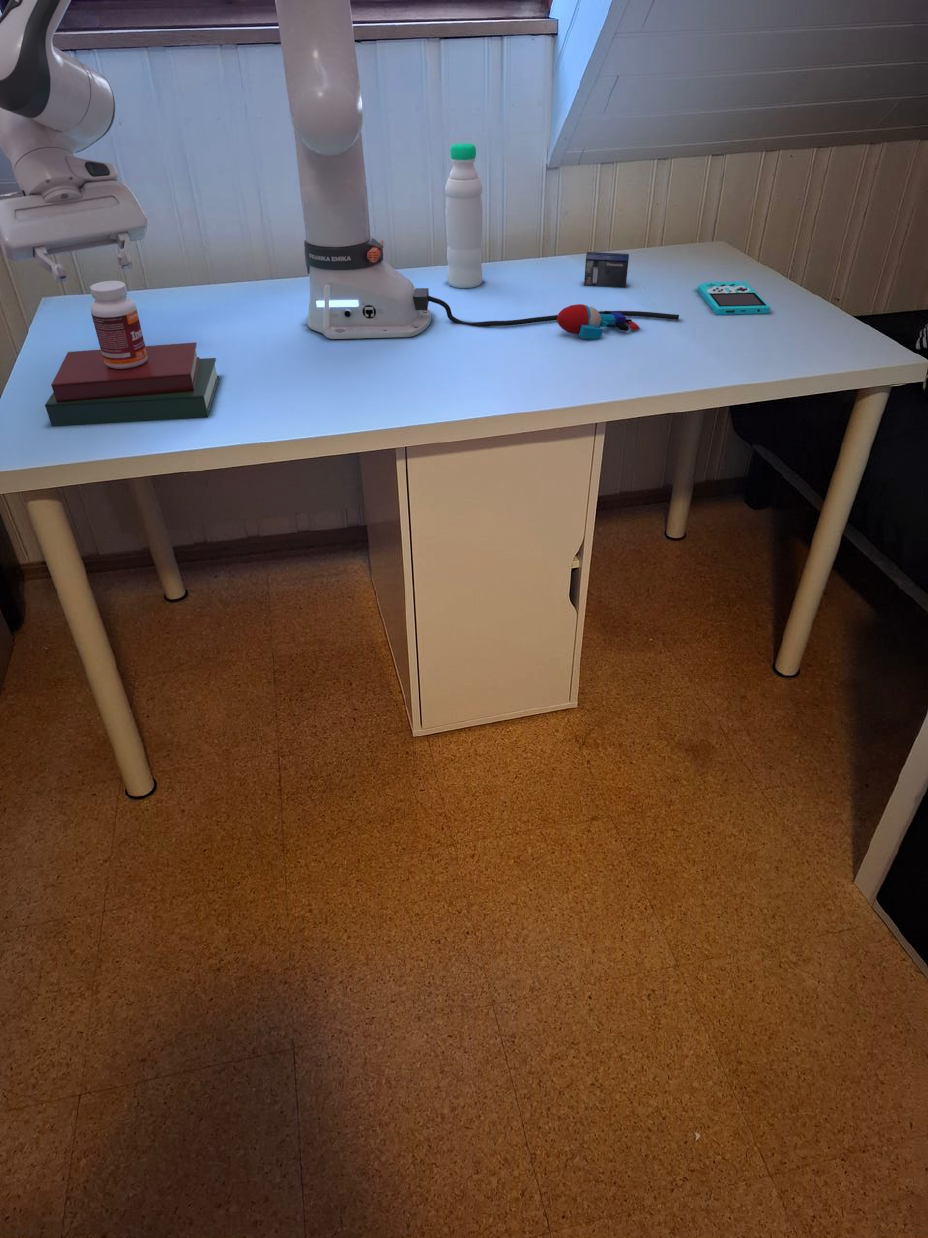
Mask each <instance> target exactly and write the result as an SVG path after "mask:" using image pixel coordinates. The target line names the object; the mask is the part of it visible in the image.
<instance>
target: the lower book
mask: <svg viewBox="0 0 928 1238" xmlns="http://www.w3.org/2000/svg"><path fill="white" fill-rule="evenodd" d="M216 362H217V357H210V358H209V357H207V358H206V357H205V358H200V360H199V366H198V372H197V377H196V383H195V389H194V391H190V392H178V393H166V394H153V395H141V396H129V397H117V398H104V399H92V400H80V401H68V402H56V398H55V395H54V392H53V391H52V394H51V395H50V396H49V398H48V399H47V400H46V402H45V404H44V407H45V410H46V413H47V416H48V419H49V423H50V425H51V427H56V426H57V427H59V426H75V425H92V424H93V425H94V424H107V423H108V424H110V423H127V422H142V421H143V422H145V421H162V420H177V419H179V420H180V419H196V418H208V417H209V414H210V411H211V407H212V404H213V402H214V397H215V394H216V390H217V387H218V384H219V381H220V375H218V374H217V369H216Z"/></svg>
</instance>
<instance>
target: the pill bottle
mask: <svg viewBox="0 0 928 1238" xmlns="http://www.w3.org/2000/svg"><path fill="white" fill-rule="evenodd" d="M89 290H90V293H91V297H92V298H93V300H94V301H93V302H92V303H91V304H90V307H89V309H90V314H91V318H92V323H93V326H94V330H95V333H96V338H97V341H98V345H99V348H100V349H99V350H101V352H102V356H103V360H104V363H105V364H106V365H107V366H108V367H111V368H114V369H127V368H133V367H137V366H139V365H142V364H144V363H145V362H146V361H147V358H148V355H147V351H146V347H145V346H146V342H145V338H144V334H143V330H142V325H141V321H140V318H139V314H138V309H137V306H136V303H135V301H134V300H133V299H132V298H130V297H127V295H128V290H127V287H126V283H125V282H124V281H121V280H105V281H98V282H96V283H93V284H91V285H90V287H89Z"/></svg>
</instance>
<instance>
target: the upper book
mask: <svg viewBox="0 0 928 1238" xmlns="http://www.w3.org/2000/svg"><path fill="white" fill-rule="evenodd" d="M197 344H198V343H197V342H196V341H195V342H185V343H171V344H170V343H169V344H159V345H158V344H156V345H155V344H154V345H145V347H146V351H147V355H148V358H147V361H146V362H145V363H144V364H142V365H139V366H137V367H133V368H127V369H114V368H111V367H108V366H107V365H106V364H105V363H104V360H103V356H102V352H101V349H90V350H89V349H88V350H76V351H74V350H73V351H68V352H67V353H66V355H65V357H64V359H63V361H62V363H61V365H60V367H59V369H58V371H57V372H56V375H55V377H54V379H53V381H52V382H51V389H52V393H53V392H54V395H55V398H56V402H68V401H80V400H92V399H104V398H117V397H129V396H141V395H153V394H166V393H178V392H190V391H194V389H195V383H196V377H197V372H198V366H199V360H200V359H201V358H200V356H198V354H197Z"/></svg>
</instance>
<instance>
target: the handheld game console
mask: <svg viewBox="0 0 928 1238" xmlns="http://www.w3.org/2000/svg"><path fill="white" fill-rule="evenodd" d="M697 292H698V293H699V295H700V296H701V297H702V298H703V300H704V301H705V303H707V305H708V306H709V307H710V309H711V310H712V311H713V312H714V314H715V315H718V316H722V315H723V316H725V315H762V314H763V315H765V314H770V311H771V306H770V305H769V304H768V303H767V302H766V301H765V300H764V298H763V297H762V296H760V295H759V294H758V292H756V290H754V288H753V287H752V286H751V285H750V284H749V283H748V282H747V281H744V280H740V281H739V280H738V281H737V280H736V281H733V280H732V281H707V282H702V283H699V284H698V286H697Z"/></svg>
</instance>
